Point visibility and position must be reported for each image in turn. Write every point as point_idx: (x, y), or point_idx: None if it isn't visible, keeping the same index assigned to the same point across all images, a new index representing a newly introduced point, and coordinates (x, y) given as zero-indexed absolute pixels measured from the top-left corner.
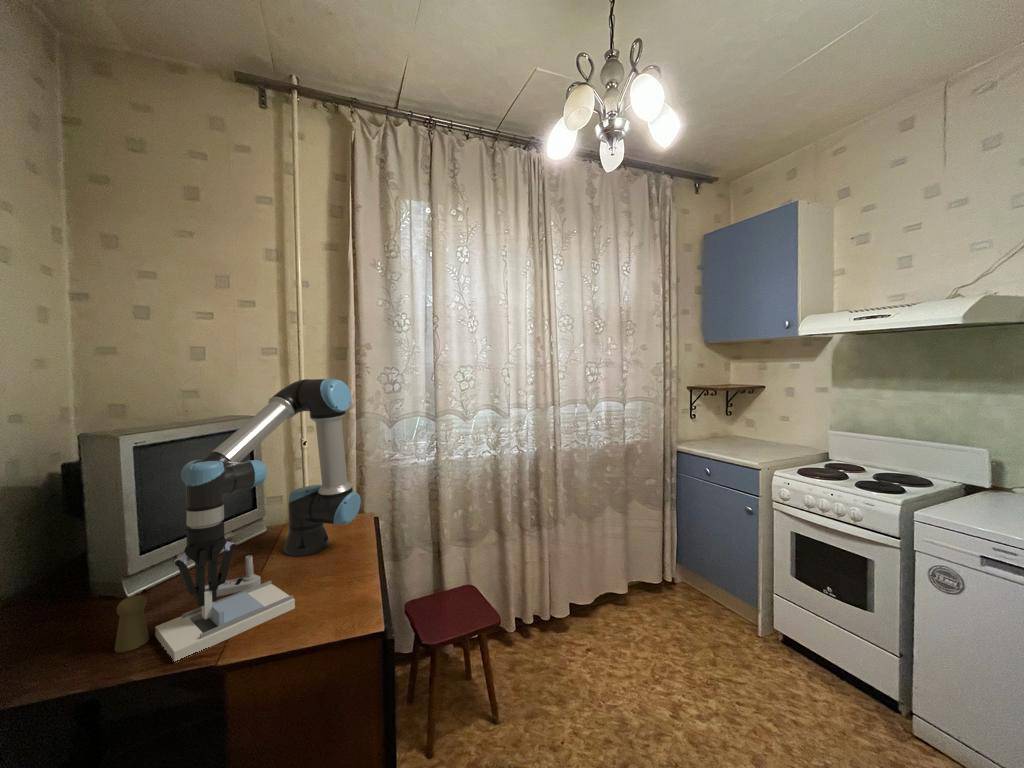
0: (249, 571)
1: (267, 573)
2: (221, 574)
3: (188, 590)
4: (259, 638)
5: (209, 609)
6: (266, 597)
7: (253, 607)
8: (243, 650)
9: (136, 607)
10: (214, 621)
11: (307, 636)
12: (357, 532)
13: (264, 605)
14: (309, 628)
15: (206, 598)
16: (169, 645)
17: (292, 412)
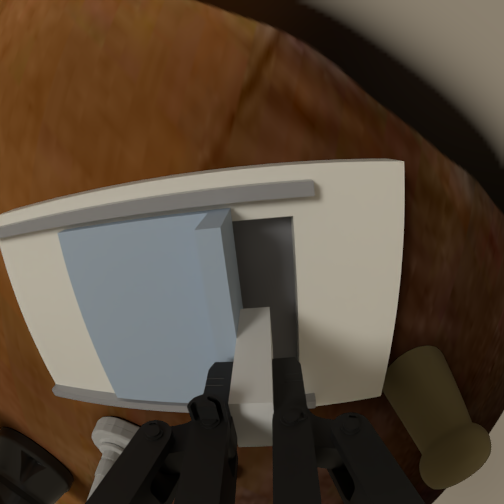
0: (107, 465)
1: (90, 447)
2: (147, 483)
3: (382, 442)
4: (126, 83)
5: (249, 331)
6: (58, 314)
7: (89, 258)
8: (188, 42)
9: (467, 439)
10: (237, 274)
11: (42, 11)
12: None
13: (63, 259)
14: (22, 50)
15: (263, 376)
16: (403, 233)
17: None
